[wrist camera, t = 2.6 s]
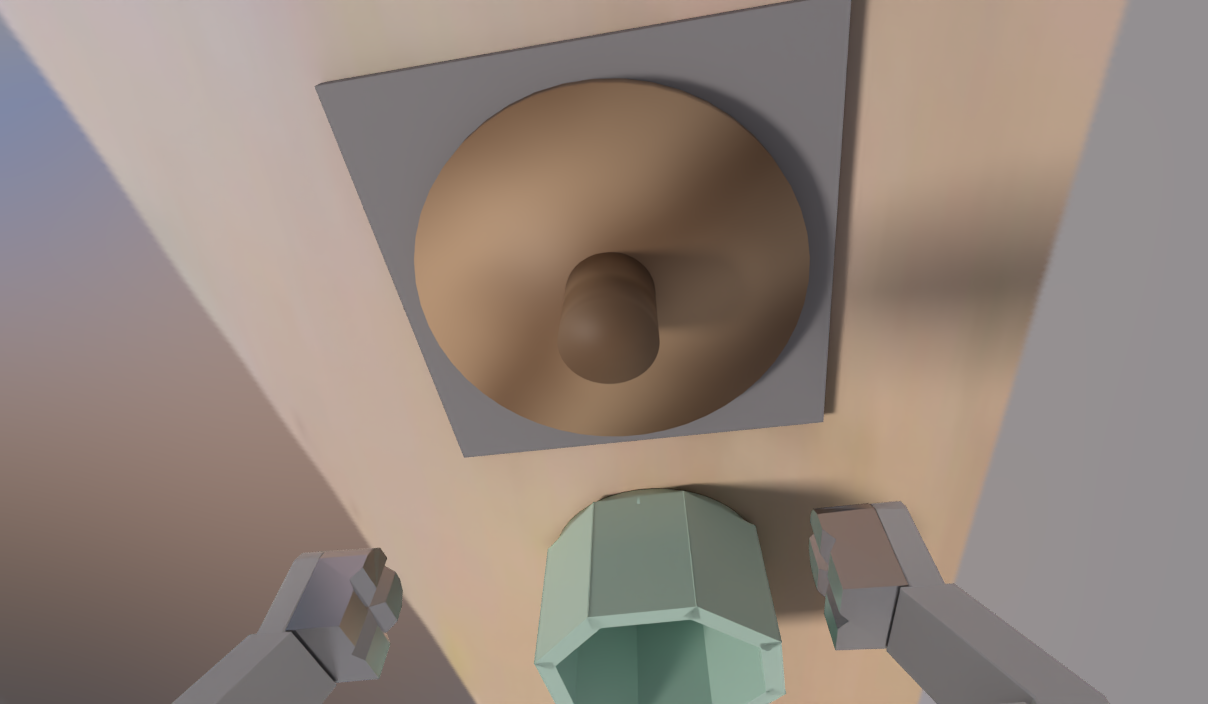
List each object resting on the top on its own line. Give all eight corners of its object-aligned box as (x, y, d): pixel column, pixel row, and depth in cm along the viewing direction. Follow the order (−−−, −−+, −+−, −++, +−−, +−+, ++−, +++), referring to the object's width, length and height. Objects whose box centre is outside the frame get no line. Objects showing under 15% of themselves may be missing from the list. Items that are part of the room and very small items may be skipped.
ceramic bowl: (800, 541, 29) (836, 664, 24) (675, 634, 34) (684, 752, 29) (629, 457, 26) (631, 578, 21) (520, 572, 31) (501, 692, 26)
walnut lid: (889, 230, 19) (940, 288, 16) (655, 466, 26) (659, 540, 23) (536, -26, 16) (514, -16, 12) (365, 326, 22) (323, 391, 19)
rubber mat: (819, 413, 24) (823, 421, 24) (466, 449, 26) (463, 457, 26) (845, -10, 16) (851, -8, 16) (321, 83, 18) (314, 86, 17)
